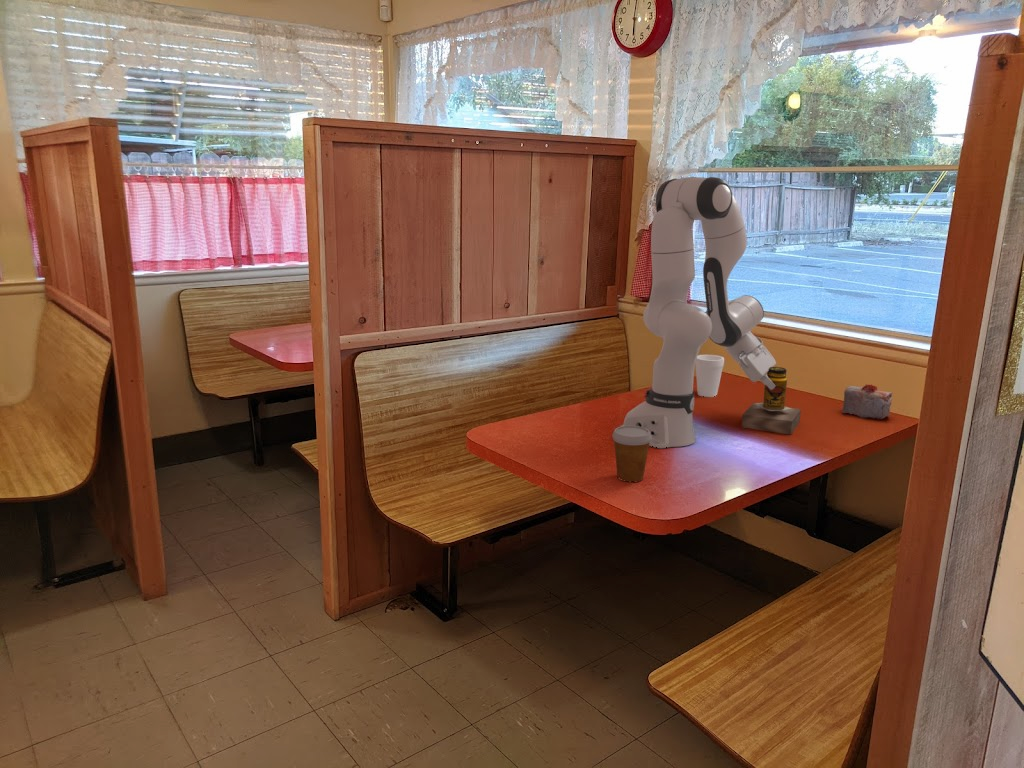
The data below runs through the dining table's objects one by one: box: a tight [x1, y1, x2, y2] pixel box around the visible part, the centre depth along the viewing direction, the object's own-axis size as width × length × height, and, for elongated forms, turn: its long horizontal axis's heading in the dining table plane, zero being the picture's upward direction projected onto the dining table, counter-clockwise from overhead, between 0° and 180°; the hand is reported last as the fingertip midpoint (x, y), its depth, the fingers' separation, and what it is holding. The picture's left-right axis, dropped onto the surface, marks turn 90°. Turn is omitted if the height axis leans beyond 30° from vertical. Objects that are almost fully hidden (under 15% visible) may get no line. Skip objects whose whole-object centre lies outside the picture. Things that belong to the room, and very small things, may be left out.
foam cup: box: [695, 354, 725, 398], centre depth 255 cm, size 10×9×13 cm
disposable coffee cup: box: [611, 425, 652, 483], centre depth 182 cm, size 10×10×12 cm
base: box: [741, 402, 802, 436], centre depth 224 cm, size 14×14×4 cm
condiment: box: [753, 366, 792, 411], centre depth 222 cm, size 7×8×12 cm
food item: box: [841, 384, 894, 420], centre depth 232 cm, size 14×8×10 cm, turn 52°
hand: (776, 385), depth 221 cm, fingers closed on condiment, 6 cm apart
